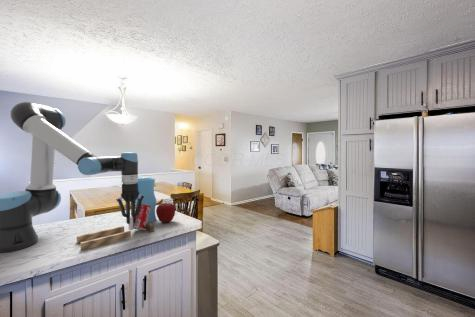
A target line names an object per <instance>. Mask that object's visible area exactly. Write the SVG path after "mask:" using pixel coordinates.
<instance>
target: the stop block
mask: <svg viewBox="0 0 475 317" xmlns="http://www.w3.org/2000/svg"><path fill="white" fill-rule="evenodd" d="M155 229H156V228H155V225H153V224H151V223H150V222H147V225H146V229H145V231H147V232H149V233H155Z"/></svg>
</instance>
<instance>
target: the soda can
mask: <svg viewBox="0 0 475 317" xmlns="http://www.w3.org/2000/svg"><path fill="white" fill-rule="evenodd" d="M150 209H151V208H150V205H147V204H141V206H140V210H139V214H138V215H136V216H135V223H133V230H138V231H145V230H146V225H147V221H148V217H149V213H150Z"/></svg>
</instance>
